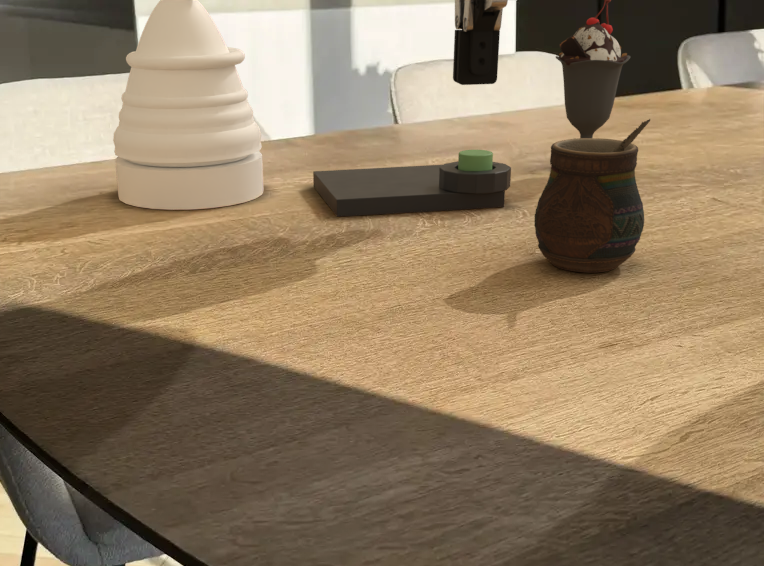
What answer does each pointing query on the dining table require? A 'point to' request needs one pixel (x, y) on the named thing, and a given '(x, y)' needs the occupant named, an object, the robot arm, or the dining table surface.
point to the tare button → (475, 160)
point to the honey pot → (186, 117)
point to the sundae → (591, 74)
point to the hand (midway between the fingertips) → (474, 82)
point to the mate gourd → (590, 204)
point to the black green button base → (412, 189)
